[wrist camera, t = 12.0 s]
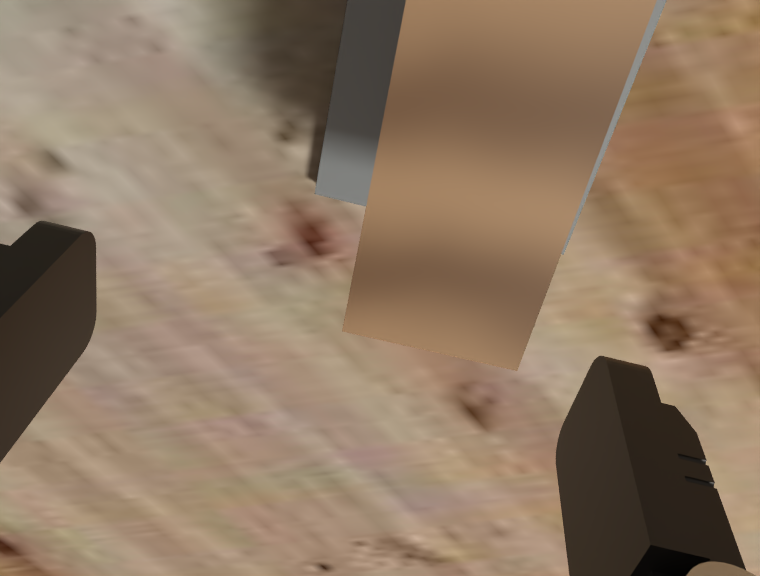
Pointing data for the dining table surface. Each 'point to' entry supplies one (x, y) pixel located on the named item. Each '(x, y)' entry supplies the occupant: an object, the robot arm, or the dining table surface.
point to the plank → (485, 167)
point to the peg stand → (369, 95)
